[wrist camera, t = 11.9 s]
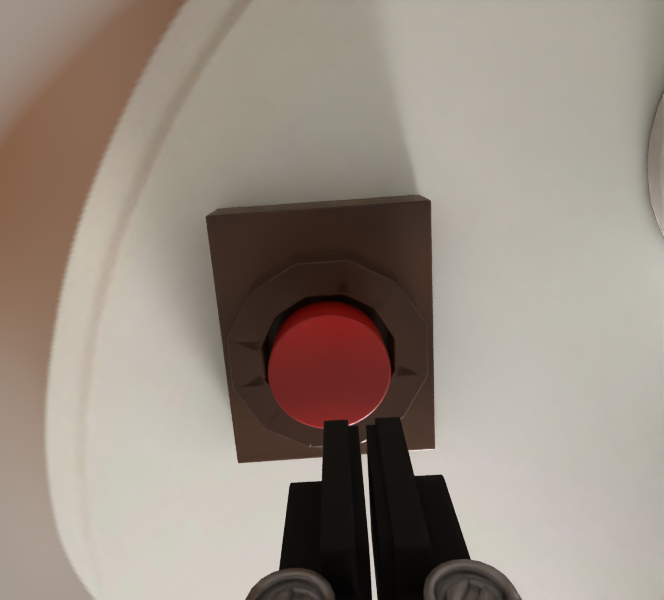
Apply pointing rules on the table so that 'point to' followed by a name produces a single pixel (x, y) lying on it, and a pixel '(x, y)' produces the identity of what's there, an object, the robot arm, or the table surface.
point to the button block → (323, 285)
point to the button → (329, 364)
